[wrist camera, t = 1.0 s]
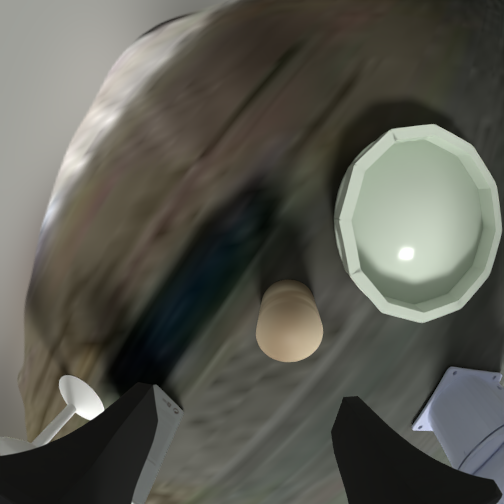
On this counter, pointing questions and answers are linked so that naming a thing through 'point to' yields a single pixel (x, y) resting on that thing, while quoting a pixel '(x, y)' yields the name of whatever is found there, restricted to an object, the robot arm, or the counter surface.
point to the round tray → (418, 222)
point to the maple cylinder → (288, 322)
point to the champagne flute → (77, 401)
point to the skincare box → (158, 443)
